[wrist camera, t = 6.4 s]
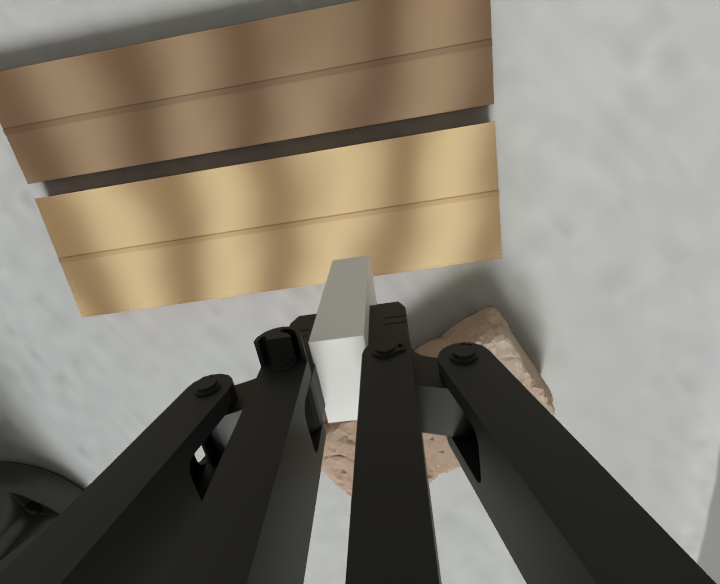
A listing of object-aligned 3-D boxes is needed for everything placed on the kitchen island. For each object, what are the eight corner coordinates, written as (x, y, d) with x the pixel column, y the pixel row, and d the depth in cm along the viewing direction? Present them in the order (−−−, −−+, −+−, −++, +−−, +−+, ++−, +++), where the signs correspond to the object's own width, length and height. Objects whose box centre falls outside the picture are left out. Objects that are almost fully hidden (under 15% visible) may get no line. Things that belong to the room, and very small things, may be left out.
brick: (488, 297, 30) (508, 329, 26) (544, 378, 33) (571, 420, 28) (306, 408, 34) (297, 452, 30) (368, 472, 37) (368, 521, 33)
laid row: (41, 180, 27) (27, 184, 26) (-4, 76, 25) (-23, 75, 24) (488, 104, 25) (494, 103, 24) (483, -19, 23) (489, -26, 21)
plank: (93, 310, 30) (81, 317, 29) (48, 196, 28) (34, 198, 27) (496, 253, 28) (502, 258, 27) (489, 122, 25) (494, 121, 24)
